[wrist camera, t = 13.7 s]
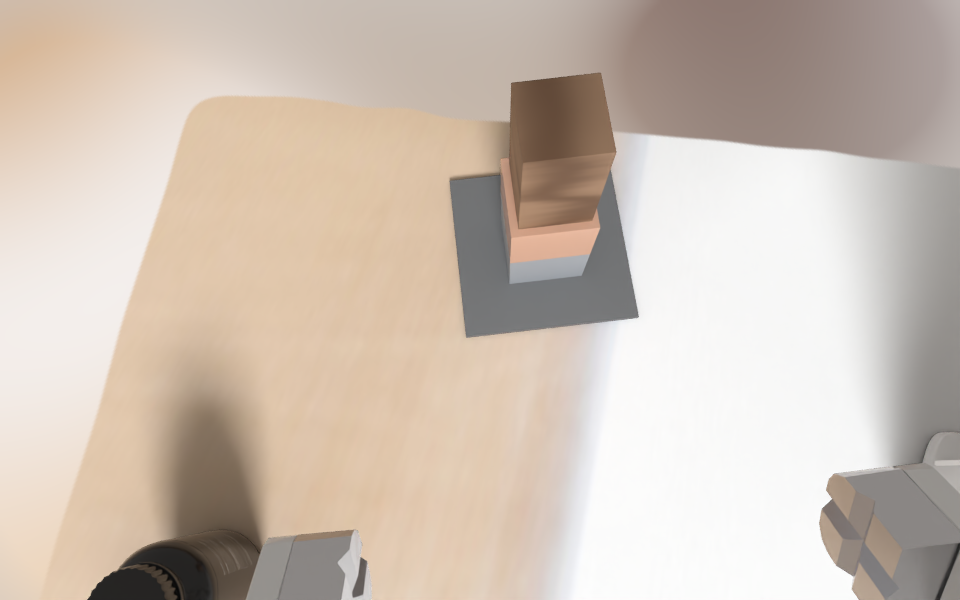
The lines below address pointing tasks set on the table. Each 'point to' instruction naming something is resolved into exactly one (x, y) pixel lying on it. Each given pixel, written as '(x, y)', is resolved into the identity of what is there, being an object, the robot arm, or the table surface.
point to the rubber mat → (535, 302)
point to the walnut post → (559, 149)
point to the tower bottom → (542, 265)
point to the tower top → (543, 231)
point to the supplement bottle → (185, 570)
